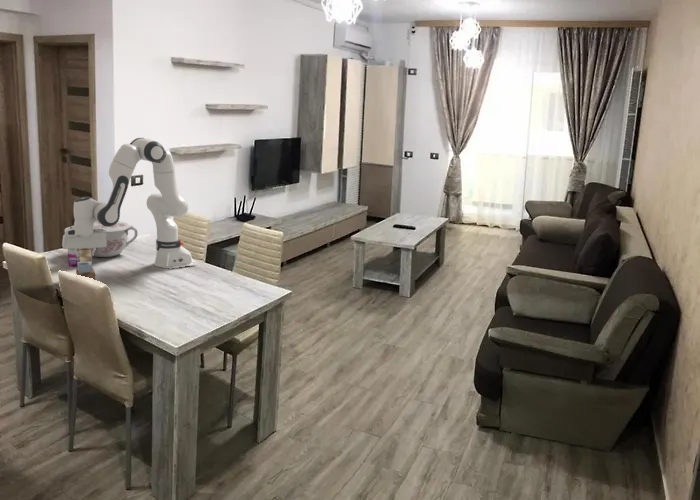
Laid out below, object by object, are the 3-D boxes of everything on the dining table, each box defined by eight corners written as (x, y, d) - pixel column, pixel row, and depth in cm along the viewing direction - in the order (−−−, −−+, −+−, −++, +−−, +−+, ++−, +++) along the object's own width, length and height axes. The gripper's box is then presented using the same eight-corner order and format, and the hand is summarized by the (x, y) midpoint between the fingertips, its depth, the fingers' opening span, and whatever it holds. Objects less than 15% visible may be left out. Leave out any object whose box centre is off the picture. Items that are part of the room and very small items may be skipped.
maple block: (90, 258, 309) (89, 247, 307) (91, 261, 304) (90, 249, 303) (79, 259, 306) (79, 247, 305) (80, 262, 302) (79, 250, 301)
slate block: (90, 268, 311) (90, 261, 310) (92, 271, 306) (92, 264, 305) (77, 269, 308) (77, 262, 307) (79, 273, 303) (79, 265, 302)
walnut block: (93, 275, 313) (93, 267, 312) (95, 280, 307) (94, 272, 306) (76, 276, 310) (76, 269, 309) (77, 281, 303) (77, 273, 302)
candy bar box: (92, 263, 331) (91, 234, 326) (90, 266, 326) (89, 236, 322) (69, 263, 328) (68, 234, 323) (68, 266, 323) (66, 236, 319)
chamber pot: (67, 256, 339) (66, 220, 334) (101, 245, 365) (100, 211, 359) (110, 264, 332) (109, 227, 327) (141, 252, 357) (140, 218, 352)
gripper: (105, 227, 309) (106, 253, 312) (61, 228, 299) (62, 255, 303) (107, 230, 303) (108, 256, 307) (62, 232, 294) (63, 259, 298)
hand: (85, 256), depth 305 cm, fingers closed on maple block, 5 cm apart
